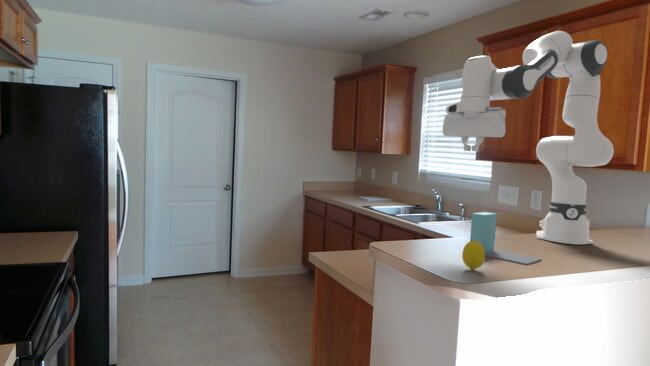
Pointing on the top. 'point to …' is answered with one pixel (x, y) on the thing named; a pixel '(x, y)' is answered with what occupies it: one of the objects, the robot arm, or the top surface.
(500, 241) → the top surface
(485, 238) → the teal block
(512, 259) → the mat
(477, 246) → the lemon
